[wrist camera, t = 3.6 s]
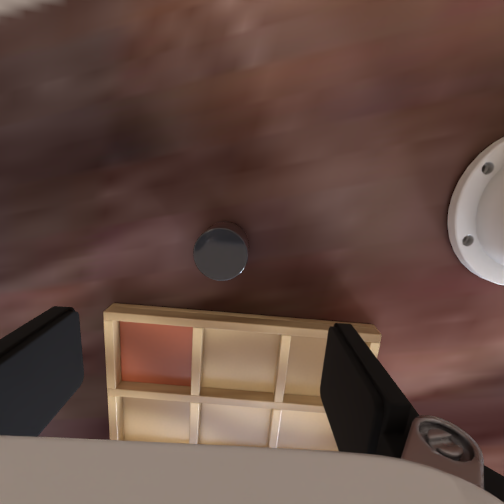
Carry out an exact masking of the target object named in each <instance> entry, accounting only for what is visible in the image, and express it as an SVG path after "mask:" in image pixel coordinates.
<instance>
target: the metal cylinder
mask: <svg viewBox="0 0 504 504" xmlns="http://www.w3.org/2000/svg"><path fill="white" fill-rule="evenodd" d="M248 252H249V240H248V237H247V234H246V233H245V231H244V230H243V229H242V228H241V227H240V226H238V225H237V224H235V223H232V222H218V223H216V224H214V225H212V226H211V227H209V228H208V229H207V230H206V231H205V232H204V233H203V234H202V235H201V236H200V237H199V238H198V239H197V241H196V243H195V246H194V251H193V256H194V261H195V264H196V266H197V267H198V269H199V270H200V271H201V272H202V273H203V274H204V275H205V276H207V277H209V278H211V279H214V280H219V281H224V280H230V279H232V278H234V277H236V276H237V275H239V274H240V273H241V272H242V271H243V269H244V268H245V266H246V264H247V260H248Z"/></svg>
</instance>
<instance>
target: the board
mask: <svg viewBox="0 0 504 504" xmlns="http://www.w3.org/2000/svg"><path fill="white" fill-rule="evenodd" d="M103 314H104V337H105V356H106V376H107V394H108V412H109V431H110V440H122V441H144V442H165V443H186V444H208V445H230V446H249V447H268V448H288V449H307V450H326V451H339V450H338V447H337V444H336V441H335V439H334V436H333V433H332V430H331V427H330V424H329V421H328V418H327V415H326V412H325V409H324V406H323V403H322V400H321V397H320V383H321V377H322V370H323V363H324V356H325V350H326V343H327V336H328V330H329V327H330V326H332V327H333V326H334V324H335V323H346V324H351V325H352V326H353V327H354V328H355V330H356V331H357V332H358V334H359V335H360V336H361V338H362V339H363V340H364V342H365V343H366V344H367V346H368V347H369V348H370V350H371V351H372V352H373V354H374V355H375V357H376V358H377V355H378V351H379V346H380V341H381V336H382V335H381V333H380V332H379V331H378V330H377V328H376V327H375V326H374V325H373V324H362V323H350V322H338V321H326V320H314V319H302V318H289V317H277V316H265V315H253V314H241V313H229V312H217V311H205V310H193V309H181V308H169V307H157V306H145V305H133V304H121V303H113V304H112V305H111V306H110V307H108V308H107V309H106V310H105V311H104V312H103Z"/></svg>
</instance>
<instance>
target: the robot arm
mask: <svg viewBox="0 0 504 504" xmlns="http://www.w3.org/2000/svg"><path fill="white" fill-rule="evenodd" d="M447 227H448V233H449V240H450V242H451V245H452V248H453V250H454V253H455V254H456V256H457V257H458V259H459V260H460V262H461V263H462V264H463V265H464V266H465V267H466V268H467V269H468V270H470V271H471V272H472V273H474V274H476V275H477V276H479V277H481V278H483V279H485V280H488V281H490V282H493V283H495V284H499V285H504V137H502V138H501V139H499V140H497V141H495V142H494V143H492V144H491V145H490V146H489V147H487V148H486V149H485V150H484V151H482V152H481V153H480V154H479V155H478V156H477V157H476V158H475V159H474V160H473V162H472V163H471V164H470V165H469V166H468V167H467V169H466V170H465V172H464V173H463V175H462V176H461V178H460V179H459V181H458V183H457V186H456V188H455V190H454V192H453V194H452V198H451V202H450V206H449V210H448V223H447ZM83 378H84V369H83V357H82V345H81V333H80V321H79V314H78V312H75V310H74V309H73V308H72V307H57V306H54V307H52V308H50V309H49V310H47V311H46V312H44V313H42V314H41V315H39V316H37V317H36V318H34V319H33V320H31V321H29V322H28V323H26V324H24V325H23V326H21V327H20V328H18V329H16V330H15V331H13V332H11V333H10V334H8V335H6V336H5V337H3V338H2V339H0V504H504V476H502V475H500V474H498V473H497V472H495V471H493V470H491V469H490V468H488V467H486V466H484V462H483V455H482V451H481V449H480V448H479V446H478V445H477V443H476V442H475V441H474V440H473V439H472V438H471V437H470V436H469V435H468V434H467V433H466V432H464V431H463V430H462V429H460V428H459V427H457V426H456V425H454V424H452V423H450V422H449V421H446V420H444V419H441V418H439V417H434V416H430V415H421V416H419V414H418V413H417V412H416V410H415V409H414V408H413V406H412V405H411V403H410V402H409V401H408V399H407V398H406V397H405V395H404V394H403V393H402V391H401V390H400V389H399V387H398V386H397V385H396V383H395V382H394V381H393V379H392V378H391V377H390V375H389V374H388V373H387V371H386V370H385V369H384V367H383V366H382V365H381V363H380V362H379V361H378V359H377V358H376V357H375V355H374V354H373V352H372V351H371V350H370V348H369V347H368V346H367V344H366V343H365V342H364V340H363V339H362V338H361V336H360V335H359V334H358V332H357V331H356V330H355V328H354V327H353V326H352V325H351V324H346V323H335V324H334V326H333V327H332V326H330V327H329V330H328V336H327V343H326V350H325V356H324V363H323V370H322V377H321V383H320V397H321V400H322V403H323V406H324V409H325V412H326V415H327V418H328V421H329V424H330V427H331V430H332V433H333V436H334V439H335V441H336V444H337V447H338V450H339V451H326V450H307V449H288V448H268V447H249V446H230V445H208V444H186V443H165V442H144V441H122V440H99V439H78V438H56V437H37V436H38V435H39V434H40V433H41V432H42V431H43V429H44V428H45V427H46V426H47V425H48V423H49V422H50V421H51V420H52V419H53V418H54V416H55V415H56V414H57V413H58V412H59V410H60V409H61V408H62V407H63V406H64V405H65V403H66V402H67V401H68V400H69V399H70V397H71V396H72V395H73V394H74V393H75V392H76V390H77V389H78V388H79V387H80V385H81V384H82V382H83Z"/></svg>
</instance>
